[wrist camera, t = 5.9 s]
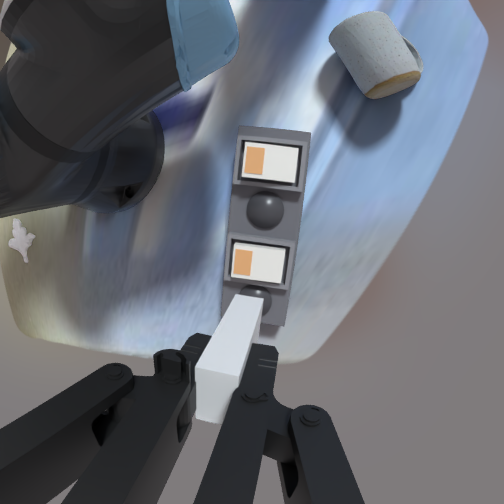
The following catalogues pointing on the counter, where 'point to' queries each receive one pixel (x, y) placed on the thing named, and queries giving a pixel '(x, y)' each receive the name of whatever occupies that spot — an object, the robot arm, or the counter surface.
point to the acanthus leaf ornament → (21, 239)
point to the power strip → (266, 220)
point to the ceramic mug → (376, 54)
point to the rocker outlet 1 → (270, 162)
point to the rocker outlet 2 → (258, 262)
